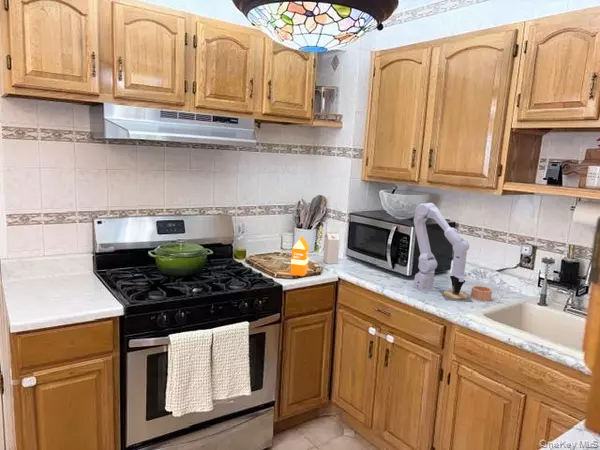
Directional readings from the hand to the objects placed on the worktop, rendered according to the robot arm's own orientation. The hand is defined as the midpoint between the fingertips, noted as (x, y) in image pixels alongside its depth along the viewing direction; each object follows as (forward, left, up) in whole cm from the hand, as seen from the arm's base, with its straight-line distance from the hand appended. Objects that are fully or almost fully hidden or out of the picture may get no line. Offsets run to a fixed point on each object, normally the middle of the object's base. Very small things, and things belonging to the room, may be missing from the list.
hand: (455, 291), depth 219 cm
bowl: (+10, -7, -2) cm, 12 cm away
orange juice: (-53, +62, -3) cm, 82 cm away
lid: (0, 0, -2) cm, 2 cm away
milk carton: (-23, +76, -3) cm, 79 cm away
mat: (0, 0, -2) cm, 2 cm away
